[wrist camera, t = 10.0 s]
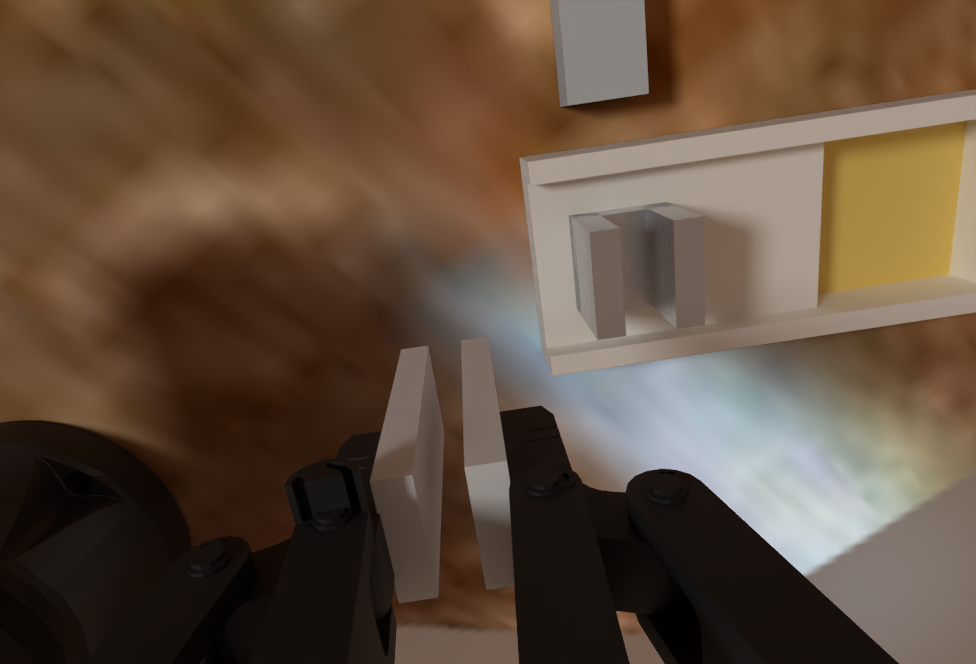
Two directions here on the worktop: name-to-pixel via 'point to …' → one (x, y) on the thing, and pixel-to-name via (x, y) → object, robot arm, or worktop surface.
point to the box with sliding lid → (775, 226)
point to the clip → (638, 265)
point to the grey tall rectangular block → (599, 49)
